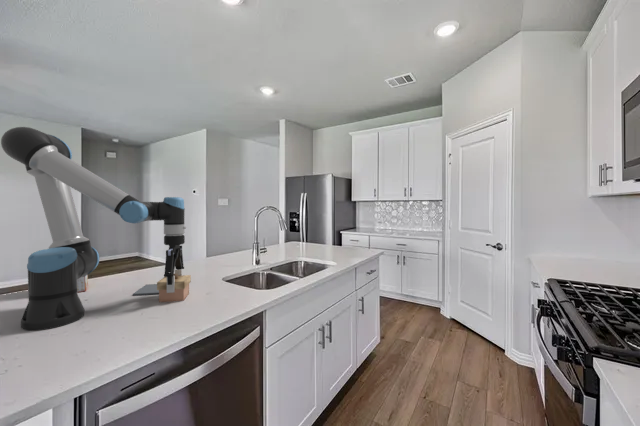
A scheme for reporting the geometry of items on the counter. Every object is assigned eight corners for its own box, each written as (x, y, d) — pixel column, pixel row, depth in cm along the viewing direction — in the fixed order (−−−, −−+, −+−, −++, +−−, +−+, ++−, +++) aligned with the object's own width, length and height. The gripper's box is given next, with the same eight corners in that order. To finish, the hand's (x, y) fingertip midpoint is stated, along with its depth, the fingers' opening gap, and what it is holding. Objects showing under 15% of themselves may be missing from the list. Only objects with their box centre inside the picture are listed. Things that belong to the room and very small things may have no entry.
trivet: (132, 295, 118) (132, 293, 118) (146, 286, 132) (146, 284, 132) (169, 293, 121) (169, 292, 121) (178, 284, 135) (178, 283, 134)
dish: (159, 302, 110) (158, 289, 110) (166, 294, 119) (166, 283, 119) (183, 300, 112) (183, 288, 112) (189, 293, 121) (189, 282, 121)
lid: (157, 290, 110) (157, 278, 110) (165, 283, 119) (165, 271, 119) (184, 288, 112) (184, 276, 112) (190, 281, 122) (190, 271, 121)
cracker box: (71, 286, 131) (70, 241, 130) (88, 284, 134) (87, 240, 134) (67, 294, 119) (66, 245, 119) (86, 291, 123) (85, 244, 122)
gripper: (176, 237, 105) (176, 296, 105) (190, 231, 127) (191, 280, 127) (154, 238, 103) (154, 297, 104) (172, 232, 125) (173, 281, 126)
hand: (174, 288), depth 116 cm, fingers closed on lid, 10 cm apart
